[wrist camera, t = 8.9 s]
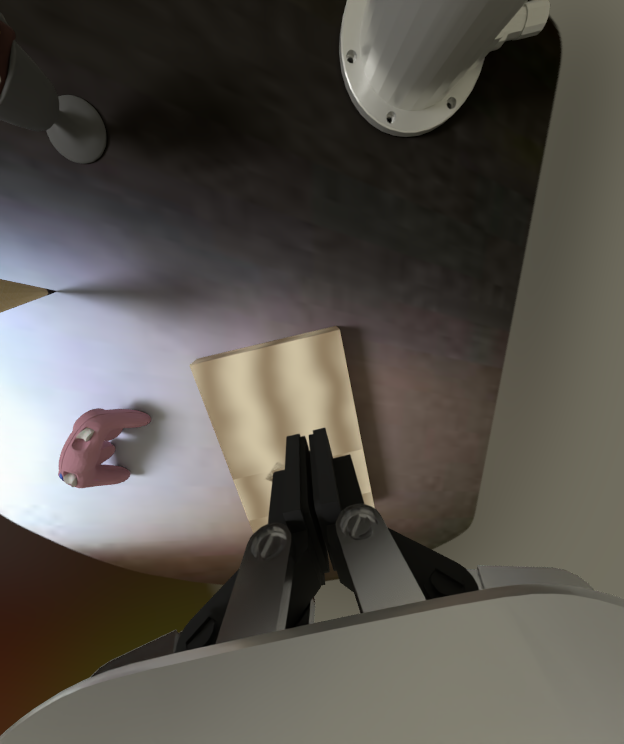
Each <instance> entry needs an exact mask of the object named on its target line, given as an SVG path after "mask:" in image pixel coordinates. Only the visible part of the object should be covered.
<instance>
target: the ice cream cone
mask: <svg viewBox="0 0 624 744" xmlns="http://www.w3.org/2000/svg"><path fill="white" fill-rule="evenodd" d="M54 292H56V291H54V290H49V289H45V288H40V287H35V286H30V285H26V284H21V283H16V282H11V281H7V280H2V279H0V313H1V312H3V311H6V310H9V309H11V308H14V307H17V306H19V305H22V304H25V303H27V302H30V301H33V300H36V299H38V298H41V297H44V296H46V295H49V294H52V293H54Z"/></svg>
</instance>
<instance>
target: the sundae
mask: <svg viewBox="0 0 624 744" xmlns="http://www.w3.org/2000/svg"><path fill="white" fill-rule="evenodd" d="M15 38H16V35H15V32H14V31H13V30H12V28H11V27H9V25H8V24H7V22H6V20H5V18H4V17H3V15H2V14H1V12H0V119H1V120H3V121H6V122H8V123H11V124H13V125H16V126H20V127H23V128H27V129H30V130H33V131H44V130H46V131H47V134H48V136H49V139H50V141H51V142H52V144H53V145H54V147H55V148H56V149H57V150H58V152H59V153H60V154H62V155H63V156H64V157H66V158H67V159H69V160H70V161H73V162H76V163H81V164H86V163H91V162H94V161H95V160H97V159H98V158H99V157H100V156H101V155H102V153H103V152H104V149H105V147H106V130H105V126H104V123H103V121H102V119H101V117H100V115H99V114H98V112H97V111H96V110H95V109H94V107H93V106H91V105H90V104H89V103H88V102H86V101H85V100H83V99H82V98H79V97H76V96H72V95H63V96H59V97H58V96H57V93H56V90H55V88H54V86H53V85H52V83H51V82H50V81H49V79H48V78H47V77H46V76H45V75H44V73H43V72H42V71H41V70H40V68H39V67H38V66H37V65H36V64H35V62H34V61H33V60H32V59H31V58H30V57H29V56H28V55H27V54H26V53H25V52H24V50H23V49H22V48H21V47H20V46H19V45H18V44H17V43H16V41H15Z"/></svg>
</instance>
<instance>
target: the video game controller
mask: <svg viewBox="0 0 624 744" xmlns="http://www.w3.org/2000/svg"><path fill="white" fill-rule="evenodd" d="M150 422H151V417H150V416H149V415H148V414H146V413H144V412H141V411H137V410H131V409H113V410H104V409H93V410H90V411H88V412H86V413H84V414H83V415H82V416H81V417H80V418H79V419H78V420H77V421H76V422H75V424H74V426H73V431H72V433H71V434H70V436H69V437H68V439H67V441H66V443H65V445H64V447H63V449H62V452H61V455H60V459H59V473H58V475H59V477H60V478H61V479H62V480H63V481H64V482H66V484H68V485H71V486H72V487H77V488H86V487H93V486H102V485H112V484H118V483H121V482H124V481H125V480H127V479H128V478H129V477H130V472H129V470H127V469H126V468H124V467H120V466H114V465H100V464H101V463H103V462H104V461H106V460H107V459H109V458H110V457H111V456H112V455H113V454H114V452H115V447H114V446H113V445H112V444H111V443H110V442H109V440H112V439H114V438H116V437H117V436H118V435H119V434H120V433H121V432H122V430H123V428H134V427H141V426H145V425H147V424H149V423H150ZM104 440H105V441H104Z"/></svg>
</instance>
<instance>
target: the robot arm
mask: <svg viewBox="0 0 624 744" xmlns="http://www.w3.org/2000/svg"><path fill="white" fill-rule="evenodd" d="M527 1H528V0H347V3H346V7H345V11H344V15H343V19H342V25H341V31H340V46H339V55H340V64H341V72H342V75H343V79H344V83H345V87H346V89H347V91H348V93H349V96H350V98H351V100H352V102H353V104H354V105H355V106H356V108H357V109H358V111H359V112H360V114H361V115H362V116H363V117H364V118H365V119H366V120H367V121H368V122H369V123H370V124H371V125H373V126H374V127H376V128H378V129H379V130H381V131H382V132H385V133H388V134H391V135H393V136H402V137H411V136H419V135H422V134H424V133H427V132H430V131H432V130H434V129H435V128H437V127H439V126H440V125H442V124H443V123H444V122H445V121H447V120H448V119H449V118H450V117H451V116H452V115H453V114H454V113H455V112H456V111H457V110H458V109H459V108H460V107H461V105H462V104H463V103H464V102H465V100H466V99H467V97H468V96H469V94H470V93H471V91H472V90H473V88H474V86H475V83H476V81H477V79H478V77H479V75H480V72H481V69H482V65H483V62H484V59H485V56H486V55H487V54H488V53H489V52H490V51H494V50H497V49H499V48H500V47H501V46H502V45H503V43H504V42H505V41H508V40H518V39H522V38H526V37H530V36H535V35H538V34H539V33H540V32H541V31H542V29H543V27H544V26H545V24H546V22H547V19H548V16H549V11H550V2H549V0H534V1H530V2H527ZM348 61H351V62H352V63H349V62H348ZM447 106H448V107H447ZM387 120H390V123H388V122H387ZM309 448H310V451H309ZM327 550H328V552H327ZM328 553H329V557H330V560H331V563H332V566H333V569H334V571H336V570H337V573H338V576H339V579H340V582H341V583H342V584H343V585H344V586H346V587H347V588H349V589H350V590H351V591H353V592H354V594H355V598H356V601H357V604H358V607H359V610H360V614H356V615H351V616H347V617H342V618H337V619H333V620H328V621H323V622H318V623H314V617H315V598H314V596H315V595H316V593H317V592H318V590H319V589H320V587H321V585H325V576H324V573H327V572H329V561H328ZM0 744H624V598H620V597H618V596H614V595H611V594H608V593H604V592H600V591H595V590H594V589H593V588H592V587H591V586H590V585H589V584H588V583H587V582H586V581H584V580H583V579H582V578H580V577H579V576H577V575H575V574H573V573H571V572H569V571H566V570H563V569H558V568H548V567H547V568H546V567H514V566H480V565H478V566H477V569H466V568H464V567H463V566H461V565H460V564H458V563H457V562H455V561H453V560H451V559H449V558H447V557H444V556H443V555H441V554H439V553H437V552H435V551H433V550H431V549H429V548H427V547H425V546H423V545H421V544H419V543H417V542H415V541H413V540H411V539H409V538H407V537H405V536H403V535H401V534H399V533H397V532H395V531H393V530H391V529H389V528H387V526H386V524H385V522H384V520H383V519H382V517H381V515H380V514H379V512H378V511H377V510H376V509H375V508H373V507H372V506H369V505H366V504H364V500H363V497H362V493H361V490H360V486H359V483H358V479H357V476H356V472H355V469H354V465H353V462H352V458H351V455H350V454H349V455H345V456H341V457H336V458H333V455H332V451H331V447H330V443H329V440H328V436H327V432H326V428H321V429H316V430H313V434H310V435H309V447H308V444H307V440H306V437H305V436H302V437H301V436H300V434H295V435H291V436H287V437H286V454H285V469H284V470H280V471H275V472H274V473H273V479H272V488H271V498H270V507H269V516H268V524H266V525H264V526H262V527H261V528H259V529H258V530H257V531H256V532H255V533H254V534H253V535H252V536H251V538H250V540H249V542H248V544H247V547H246V550H245V553H244V556H243V559H242V562H241V565H240V569H239V570H238V571H237V572H236V573H235V574H234V575H233V576H232V577H231V578H230V579H229V580H228V581H227V582H226V583H225V584H224V585H223V586H222V587H221V589H220V590H219V591H218V592H217V593H216V594H215V595H214V596H213V597H212V598H211V599H210V600H209V601H208V602H207V603H206V604H205V605H204V607H203V608H202V609H201V610H200V611H199V612H198V613H197V614H196V615H195V616H194V617H193V618H192V619H191V620H190V622H189V623H188V624H187V625H186V627H185V628H184V630H183V631H182V632H180V633H178V632H177V631H176V630H174V631H173V632H170V633H168V634H166V635H164V636H162V637H160V638H158V639H156V640H153V641H151V642H149V643H147V644H145V645H143V646H141V647H139V648H136V649H134V650H132V651H130V652H128V653H126V654H124V655H122V656H120V657H118V658H115V659H113V660H111V661H109V662H108V663H106V664H105V665H103V666H102V667H100V668H99V669H98V670H97V671H96V672H95V673H94V674H93V675H92V676H91V677H90V678H88V679H86V680H84V681H82V682H80V683H78V684H76V685H74V686H72V687H70V688H68V689H66V690H64V691H62V692H60V693H58V694H57V695H55V696H54V697H52V698H50V699H49V700H47V701H46V702H44V703H43V704H41V705H40V706H38V707H36V708H35V709H33V710H32V711H31V712H29V713H28V714H27V715H25V716H24V717H23V718H21V719H20V720H19V721H18V722H16V723H15V724H14V725H13V726H12V727H10V728H9V729H8V730H6V732H4V733H3V734H2V736H0Z"/></svg>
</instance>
